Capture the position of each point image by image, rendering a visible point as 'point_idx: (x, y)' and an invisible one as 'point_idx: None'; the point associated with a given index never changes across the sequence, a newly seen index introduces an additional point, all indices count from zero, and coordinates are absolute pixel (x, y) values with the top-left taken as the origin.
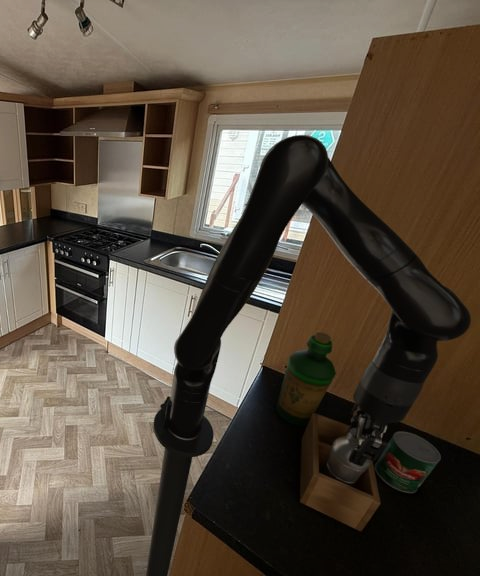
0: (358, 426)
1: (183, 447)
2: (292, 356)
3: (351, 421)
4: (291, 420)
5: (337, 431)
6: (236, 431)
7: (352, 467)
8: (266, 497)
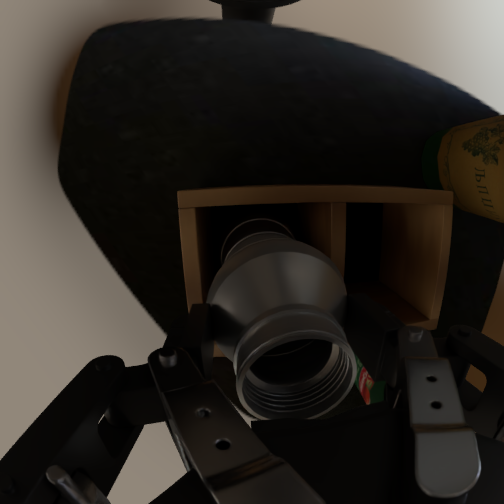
0: (231, 442)
1: None
2: None
3: (406, 330)
4: (426, 160)
5: (423, 260)
6: (320, 40)
7: None
8: (167, 123)
